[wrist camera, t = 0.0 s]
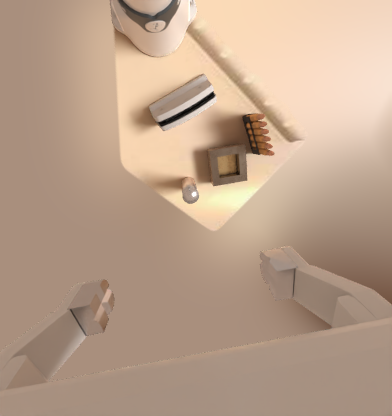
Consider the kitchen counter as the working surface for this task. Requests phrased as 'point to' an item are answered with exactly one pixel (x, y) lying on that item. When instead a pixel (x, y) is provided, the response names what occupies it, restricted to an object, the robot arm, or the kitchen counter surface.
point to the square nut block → (227, 164)
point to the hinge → (183, 103)
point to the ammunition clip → (257, 134)
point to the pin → (189, 190)
